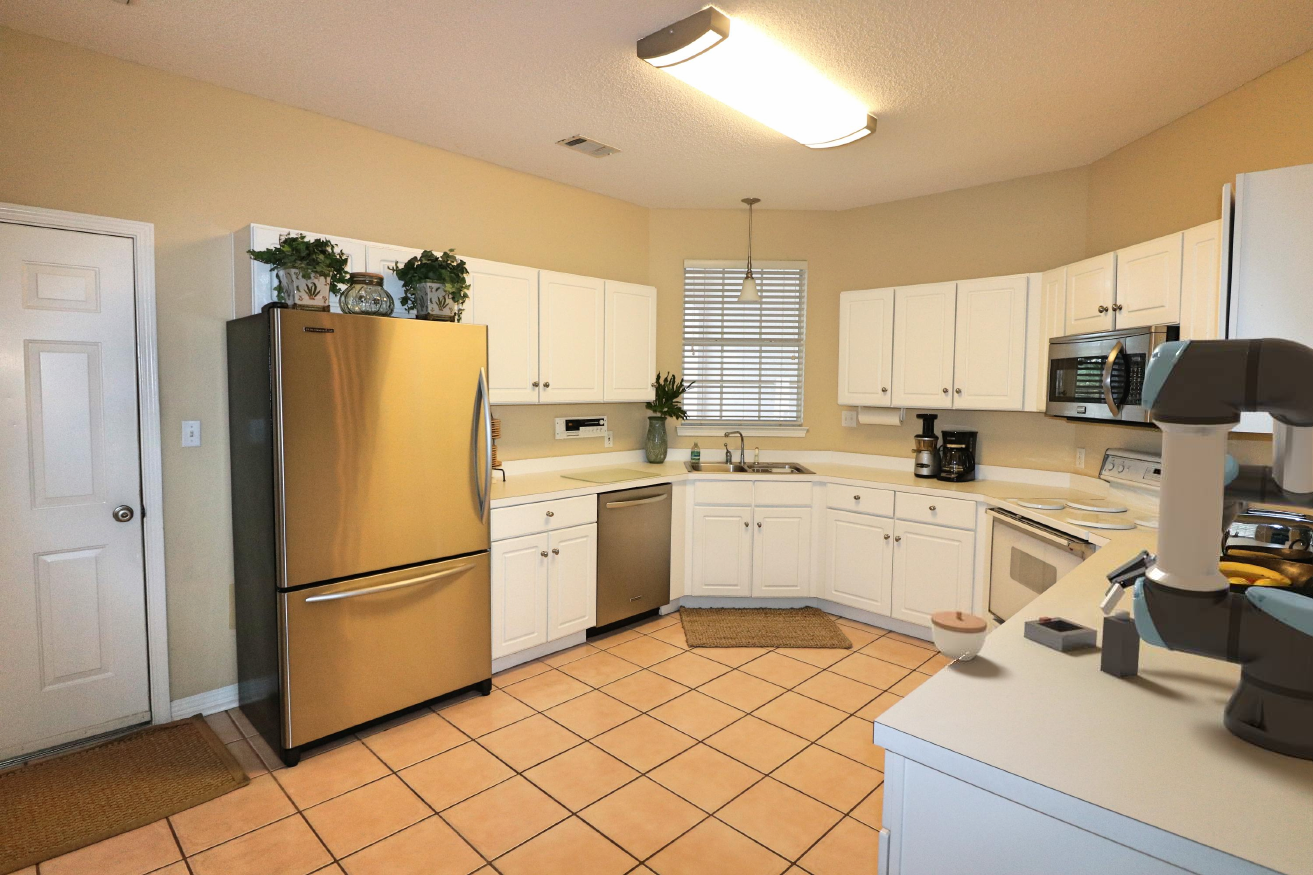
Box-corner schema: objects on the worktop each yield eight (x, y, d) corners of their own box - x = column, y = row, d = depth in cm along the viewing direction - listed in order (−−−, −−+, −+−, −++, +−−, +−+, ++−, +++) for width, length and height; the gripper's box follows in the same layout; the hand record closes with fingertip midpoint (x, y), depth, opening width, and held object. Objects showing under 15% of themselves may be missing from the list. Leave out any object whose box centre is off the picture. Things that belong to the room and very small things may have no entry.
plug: (1137, 675, 136) (1141, 613, 135) (1119, 678, 134) (1123, 615, 134) (1117, 667, 140) (1121, 607, 139) (1100, 670, 138) (1104, 609, 137)
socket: (1096, 645, 152) (1097, 627, 151) (1061, 651, 148) (1062, 633, 148) (1057, 631, 160) (1058, 614, 160) (1023, 636, 157) (1024, 619, 157)
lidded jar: (926, 658, 143) (928, 614, 142) (932, 642, 152) (934, 600, 152) (984, 669, 138) (986, 623, 137) (986, 651, 148) (988, 608, 147)
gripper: (1268, 569, 132) (1211, 655, 128) (1139, 542, 156) (1087, 613, 152) (1253, 544, 130) (1194, 630, 126) (1123, 520, 154) (1071, 592, 149)
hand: (1136, 621), depth 139 cm, fingers open, 13 cm apart
